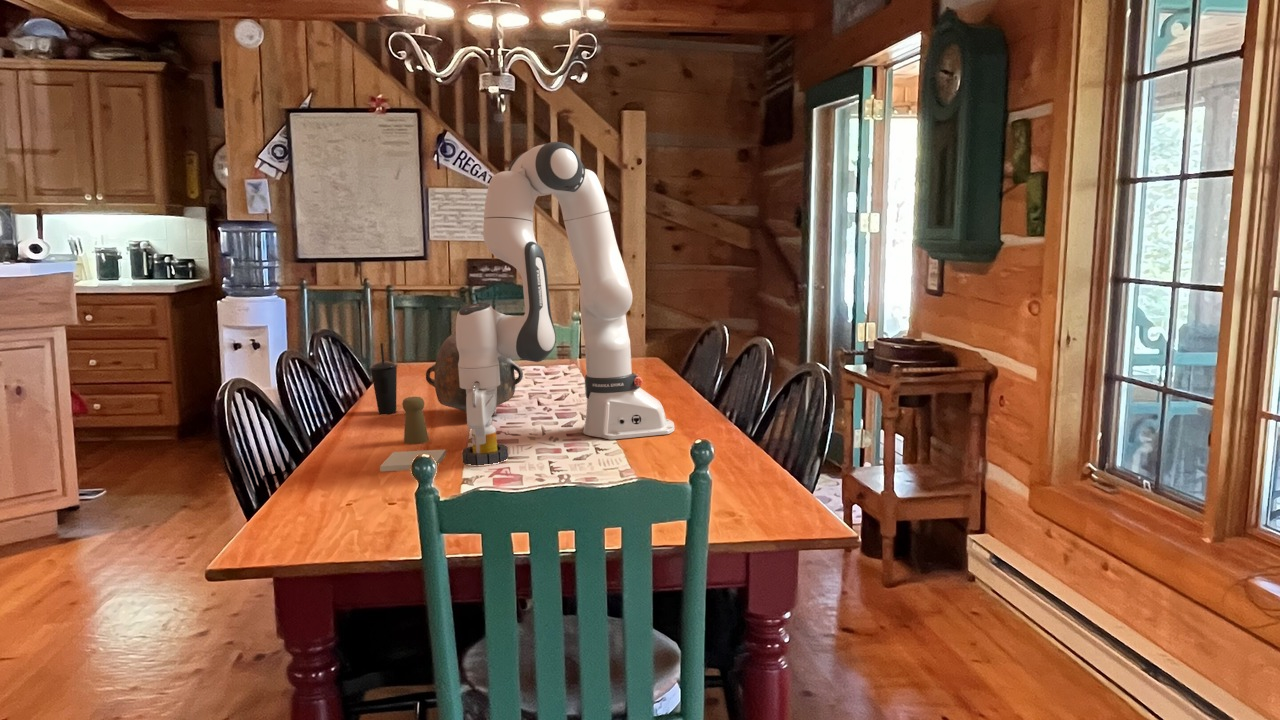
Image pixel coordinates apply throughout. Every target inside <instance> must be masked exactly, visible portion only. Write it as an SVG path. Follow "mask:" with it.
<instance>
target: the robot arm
mask: <svg viewBox="0 0 1280 720" xmlns="http://www.w3.org/2000/svg"><path fill="white" fill-rule="evenodd" d="M585 167H586V166H585V165H584V164H583V162H582V160H581V157H580V155H579V154H578V152H577V151H576V150H575V149H574V147H572V146H571V145H570V144H568V143H565V142H562V141H561V142H560V141H552V142H551V141H550V142H548V143H543V144H539V145H536V146H534V147H532V148H530V149H529V150H527V151H525V152H522V153H520V154H519V155H517V156H516V157H515V158H514V159H513V160H512V162H511V163H510V165H509V167H508V169H507V170H503V171H499V172H498V173H495V174H494V175H493V176H492V177H491V179H490V180H489V183H488V187H487V191H486V196H485V203H484V211H483V213H484V214H483V227H482V228H483V232H482V233H483V234H482V235H483V241H484V244H485V246H486V248H487V249H488V251H489V252H490V253H491V254H492V255H493V256H494V257H496V258H497V259H499V260H500V261H503V262H504V263H506V264H508V265H510V266H512V267H514V268H515V269H516V271H517V272H518V273H519V275H520V277H521V281H522V290H523V301H524V314H523V315H511V314H510V315H509V314H504V313H502V312H499V311H497V310H496V309H494V308H493V307H492V305H491V304H490V303H488V302H487V303H486V302H475V303H471V304H468V305H464V306H463V307H461V308H459V310H458V312H457V314H456V319H455V332H456V344H457V349H458V352H459V363H458V370H459V383H460V388H462V389H466V395H467V397H466V410H467V413H466V423H467V424H466V425H467V427H468V429H469V430H472V429H475V433H476V436H477V443H478V444H485V443H486V435H485V426H486V424H487V423H488V421H489V419H490V417H492V416H493V415H494V413H495V412H496V409H497V406H496V404H497V386H499V385H500V370H499V361H498V357H502V358H511V359H513V360H523V361H529V362H535V363H539V362H543V361H544V360H545V359H547V357H548V356H549V355H550V354H551V353H552V352H553V350H554V348H555V346H556V344H557V343H556V342H557V338H556V337H557V334H556V329H555V326H554V325H555V324H554V321H553V318H552V312H551V311H552V310H551V302H550V301H551V299H550V291H549V282H548V281H549V280H548V270H547V262H546V257H545V253H544V250H543V249H542V247H541V245H539V244H538V243H537V240H536V237H535V232H534V207H535V203H536V201H537V198H538V197H542V196H550V195H553V196H554V197H555V199H556V200H557V203H559V206H560V209H561V214H562V218H563V220H562V221H563V224H564V227H565V231H566V236H567V240H568V244H569V248H570V253H571V256H572V258H573V261H574V265H575V268H576V271H577V274H578V278H579V281H580V287H579V289H578V290H579V291H578V295H579V297H578V298H579V307H580V316H581V317H580V318H581V325H582V326H581V327H582V333H583V339H584V353H585V368H586V369H585V370H586V375H585V377H584V393H585V398H586V413H585V420H584V427H583V431H582V433H583V434H584V435H586V436H590V437H596V438H603V439H605V440H620V439H631V438H640V437H641V438H642V437H653V436H661V435H669V434H672V433H674V431H675V429H676V428H675V423H674V421H672V420H671V419H669V418H666V413H665V410H664V407H663V405H662V403H661V402H660V400H659V399H657V398H656V397H654V396H653V395H651V394H650V393H649V392H647V391H646V390H644V389H643V388H641V386H642V384H643V381H644V380H643V378H642V377H641V376H639V374H636V373H634V372H632V352H631V350H632V349H631V339H630V334H629V329H628V323H627V315H626V314H627V313H629V310H630V309H631V307H632V304H633V297H634V296H633V291H632V287H631V285H630V284H631V283H630V281H629V280H630V279H629V277H628V274H627V270H626V267H625V264H624V261H623V259H622V255H621V252H620V249H619V246H618V243H617V239H616V233H615V231H614V230H615V229H614V226H613V222H612V219H611V213H610V209H609V206H608V202H607V197H606V195H605V193H604V189H603V186H602V184H601V181H600V180H599V178H598V176H597V174H596V173H595V171H593V170H591V169H587V168H585Z"/></svg>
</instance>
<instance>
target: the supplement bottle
mask: <svg viewBox="0 0 1280 720" xmlns="http://www.w3.org/2000/svg"><path fill="white" fill-rule="evenodd" d="M470 432H471V433H470V435H471V444H472V447H473V453H490V452H495V451H497V444H498V441H497V440H498V439H497V428H496V427H495V426H494V425H493V417H492V416H491V417H490V419H489V421H488V423H487V424H486V426H485V435H486V443H485V444H478V443H477V436H476V433H475V429H471V431H470Z"/></svg>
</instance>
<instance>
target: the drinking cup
mask: <svg viewBox="0 0 1280 720" xmlns="http://www.w3.org/2000/svg"><path fill="white" fill-rule="evenodd" d="M379 344H380V353H381V354H380V355H381V357H380V358H381V360H380V361H378V362H375V363H373V364H372V365H370V366H369V369H370V372H371V379H372V383H373V390H374V394H375V400H376V404H377V405H376V406H377V410H378V415H381V414H387V415H393V414H396V413H397V388H398V387H397V384H398V382H397V380H398V379H397V374H398V373H397V368H398V364H397V363H394V362H392V361H388V360H385V353H384V352H385V351H384V343H382V342H381V343H379ZM392 413H393V414H392Z"/></svg>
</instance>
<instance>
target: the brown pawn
mask: <svg viewBox="0 0 1280 720" xmlns="http://www.w3.org/2000/svg"><path fill="white" fill-rule="evenodd" d="M424 408H425V401H424V398H422V397H421V396H407V397H406V398H404V399H403V400H402V409H403V411H404V412H405V414H404V432H403V443H404V444H405V445H419V444H424V443H427V442H430V439H429V433H428V431H427V430H428V429H427V426H426V420H425V416H424V411H423V410H424Z"/></svg>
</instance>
